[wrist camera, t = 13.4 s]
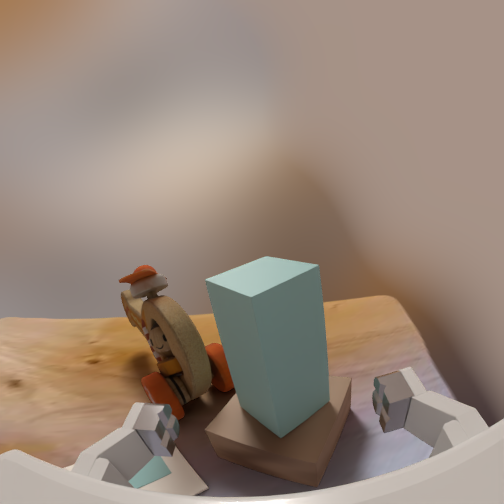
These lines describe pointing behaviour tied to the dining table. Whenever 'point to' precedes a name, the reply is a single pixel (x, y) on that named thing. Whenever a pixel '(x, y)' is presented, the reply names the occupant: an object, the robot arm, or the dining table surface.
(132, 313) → the toy helicopter
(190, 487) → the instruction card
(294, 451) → the walnut base block
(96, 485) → the robot arm
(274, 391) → the teal tall block
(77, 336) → the dining table surface
